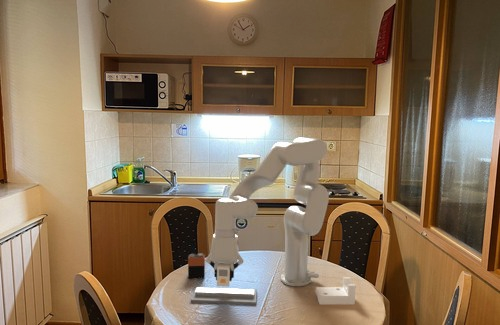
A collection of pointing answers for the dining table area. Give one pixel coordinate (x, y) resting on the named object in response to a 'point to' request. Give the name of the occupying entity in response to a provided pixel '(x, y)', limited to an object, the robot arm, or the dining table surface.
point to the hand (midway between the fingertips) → (224, 278)
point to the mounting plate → (224, 299)
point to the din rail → (224, 292)
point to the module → (223, 274)
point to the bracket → (337, 293)
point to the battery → (196, 266)
